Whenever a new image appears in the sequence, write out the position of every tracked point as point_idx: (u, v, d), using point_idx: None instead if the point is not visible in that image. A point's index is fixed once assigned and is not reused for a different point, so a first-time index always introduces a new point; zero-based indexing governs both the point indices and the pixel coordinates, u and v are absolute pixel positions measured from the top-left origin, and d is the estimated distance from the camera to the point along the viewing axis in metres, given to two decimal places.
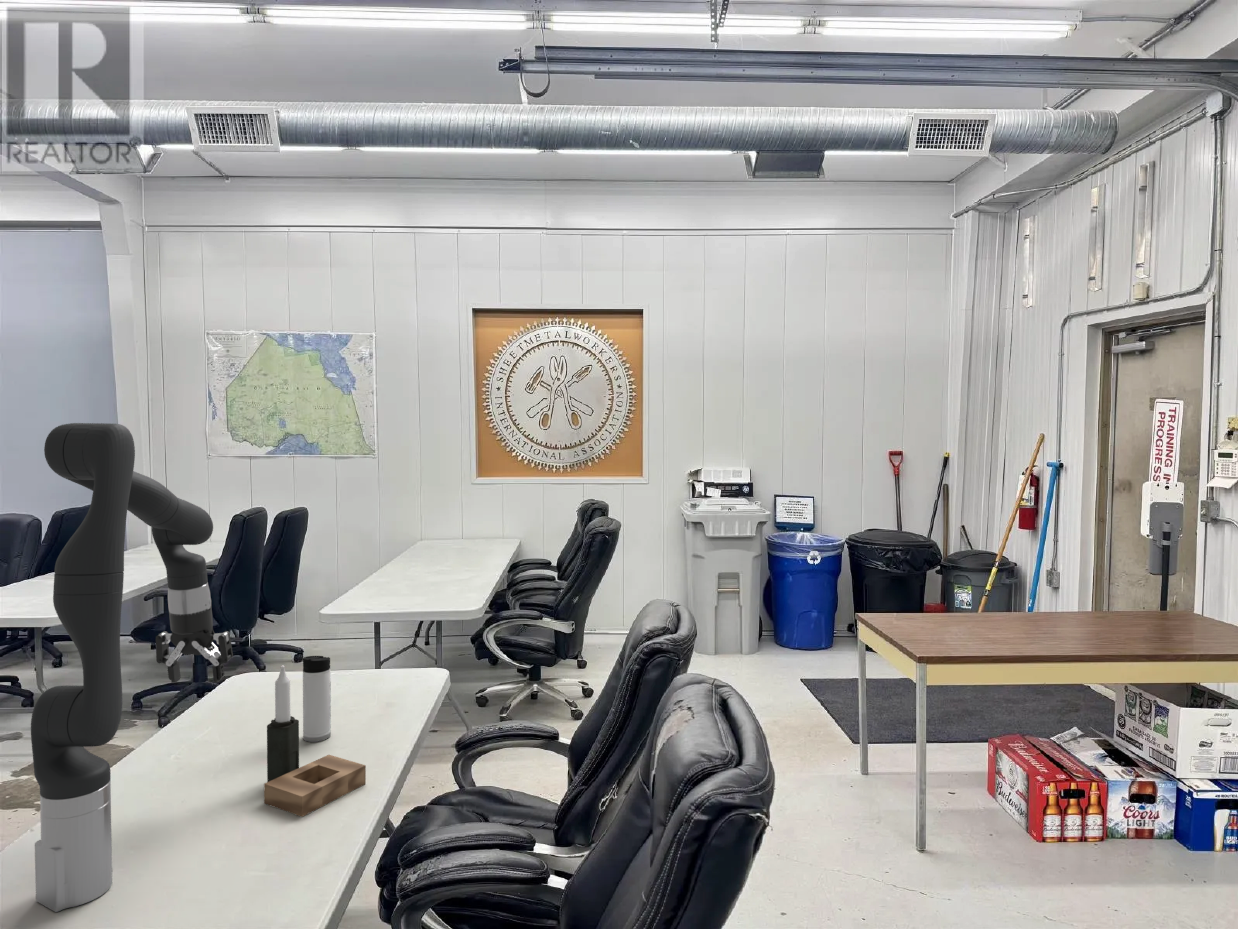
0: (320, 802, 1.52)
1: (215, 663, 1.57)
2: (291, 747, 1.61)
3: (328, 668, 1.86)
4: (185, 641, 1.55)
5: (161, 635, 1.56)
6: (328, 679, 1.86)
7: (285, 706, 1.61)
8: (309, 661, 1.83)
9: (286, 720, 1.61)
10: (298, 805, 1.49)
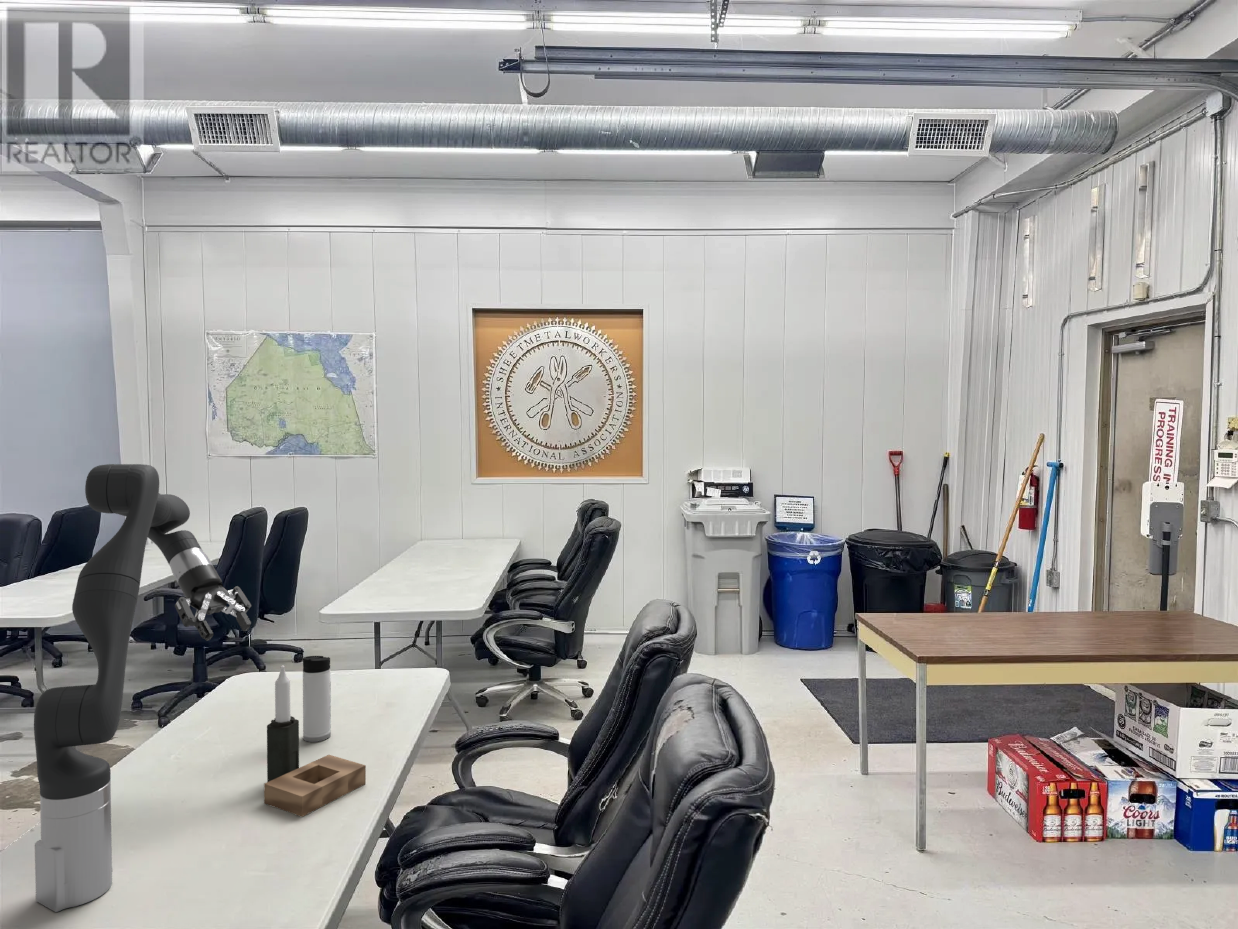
0: (320, 802, 1.52)
1: (242, 608, 1.68)
2: (291, 747, 1.61)
3: (328, 668, 1.86)
4: None
5: None
6: (328, 679, 1.86)
7: (285, 706, 1.61)
8: (309, 661, 1.83)
9: (286, 720, 1.61)
10: (298, 805, 1.49)
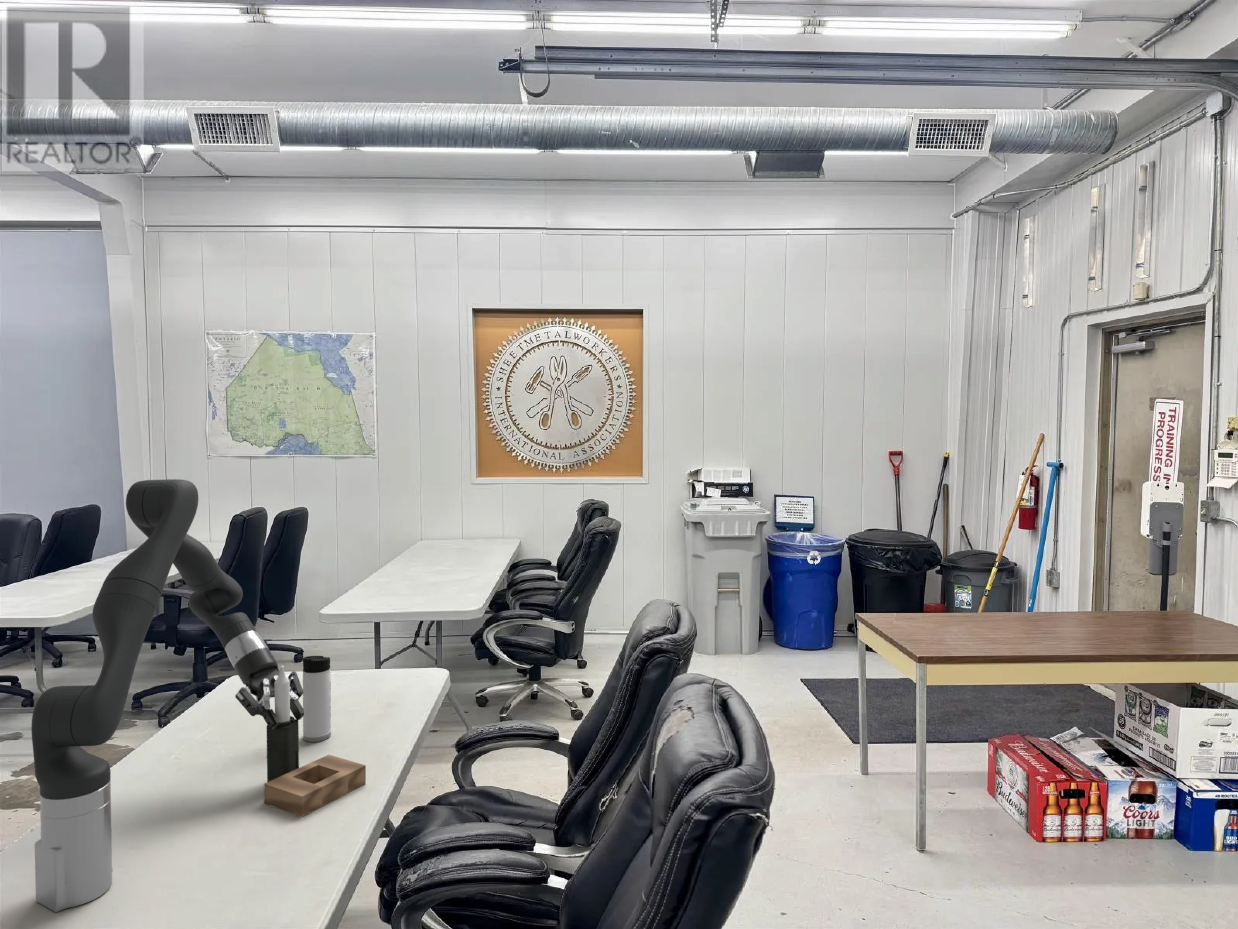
0: (320, 802, 1.52)
1: (295, 696, 1.65)
2: (290, 747, 1.61)
3: (328, 668, 1.86)
4: None
5: None
6: (328, 679, 1.86)
7: (284, 706, 1.61)
8: (309, 661, 1.83)
9: (286, 720, 1.61)
10: (298, 805, 1.49)
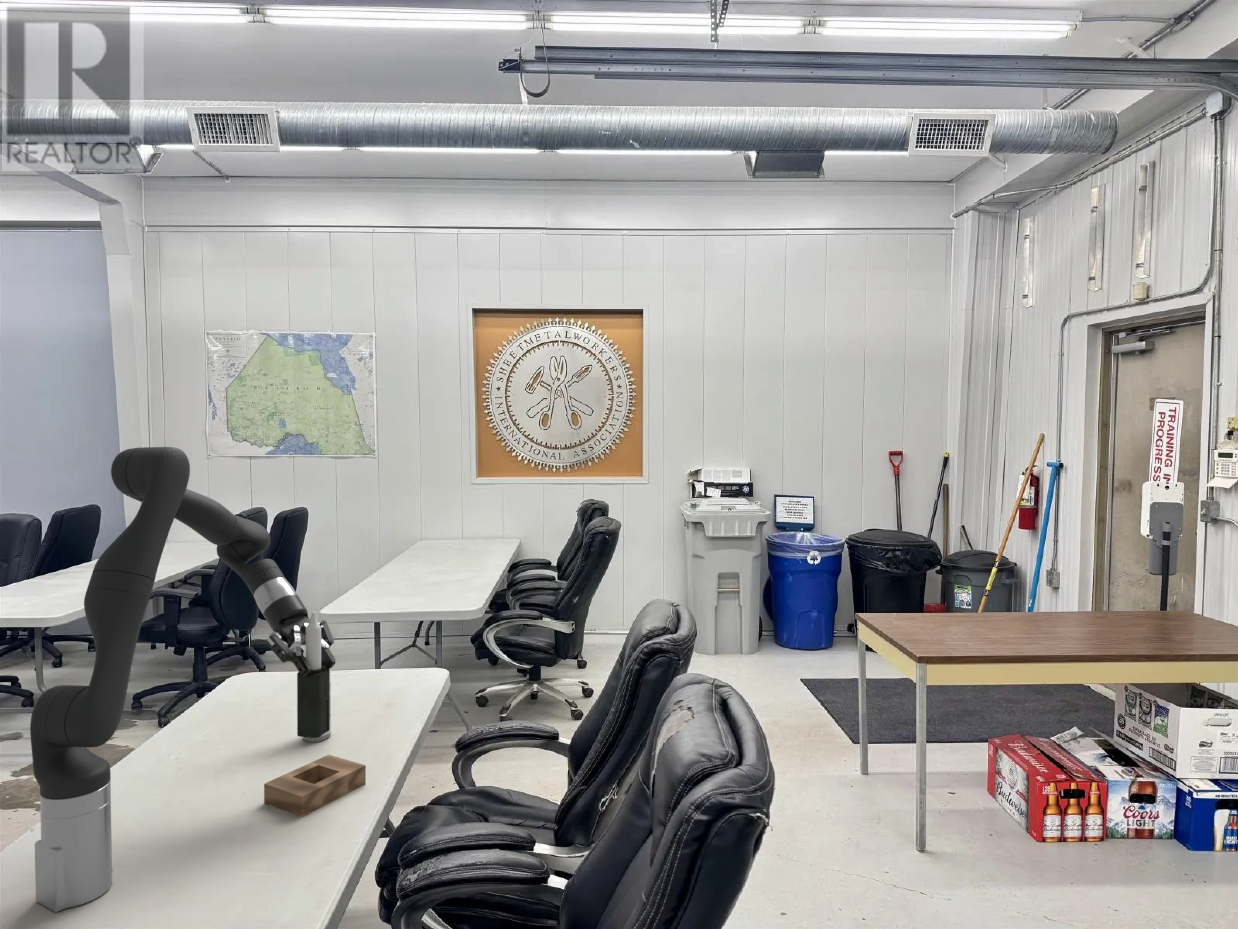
0: (320, 802, 1.52)
1: (326, 644, 1.60)
2: (322, 696, 1.56)
3: None
4: None
5: None
6: None
7: (316, 653, 1.56)
8: None
9: (317, 668, 1.56)
10: (298, 805, 1.49)
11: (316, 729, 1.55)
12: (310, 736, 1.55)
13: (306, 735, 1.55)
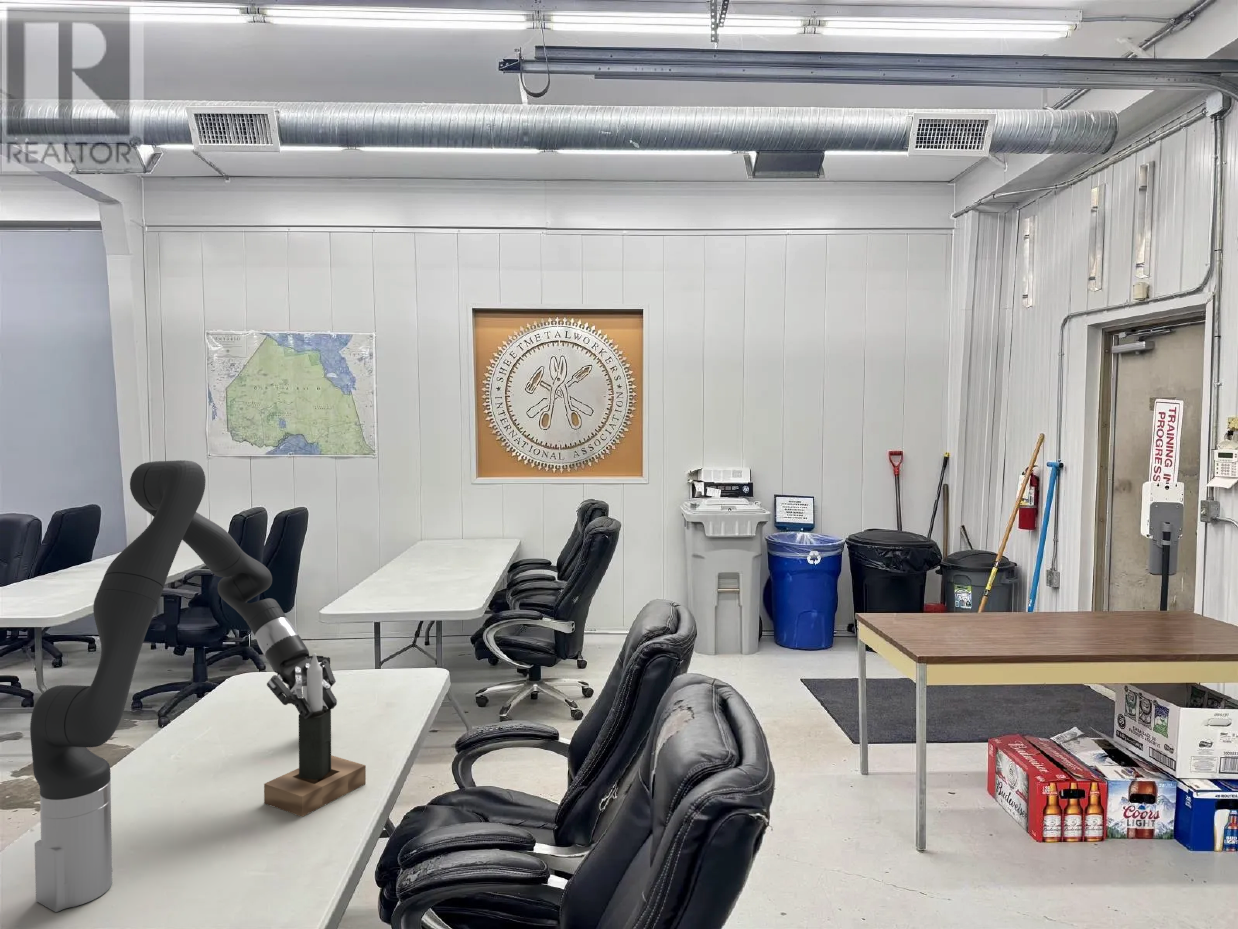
0: (320, 802, 1.52)
1: (327, 685, 1.60)
2: (323, 737, 1.56)
3: None
4: None
5: None
6: None
7: (317, 695, 1.56)
8: None
9: (318, 709, 1.56)
10: (298, 805, 1.49)
11: (318, 771, 1.55)
12: (312, 778, 1.55)
13: (308, 777, 1.55)
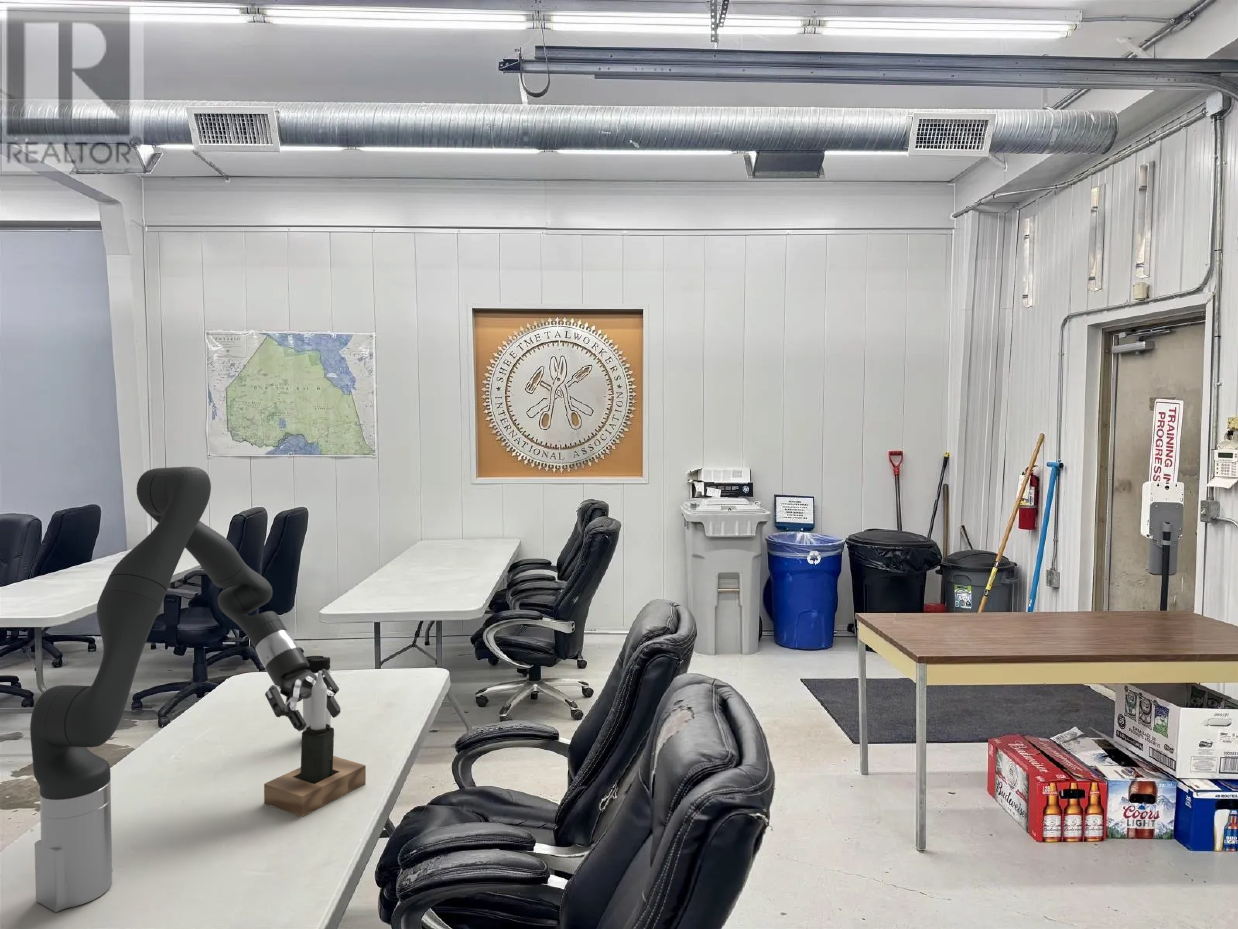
0: (320, 802, 1.52)
1: (331, 693, 1.62)
2: (325, 756, 1.56)
3: (328, 668, 1.86)
4: None
5: None
6: None
7: (321, 713, 1.57)
8: (309, 661, 1.83)
9: (321, 727, 1.57)
10: (298, 805, 1.49)
11: None
12: None
13: None
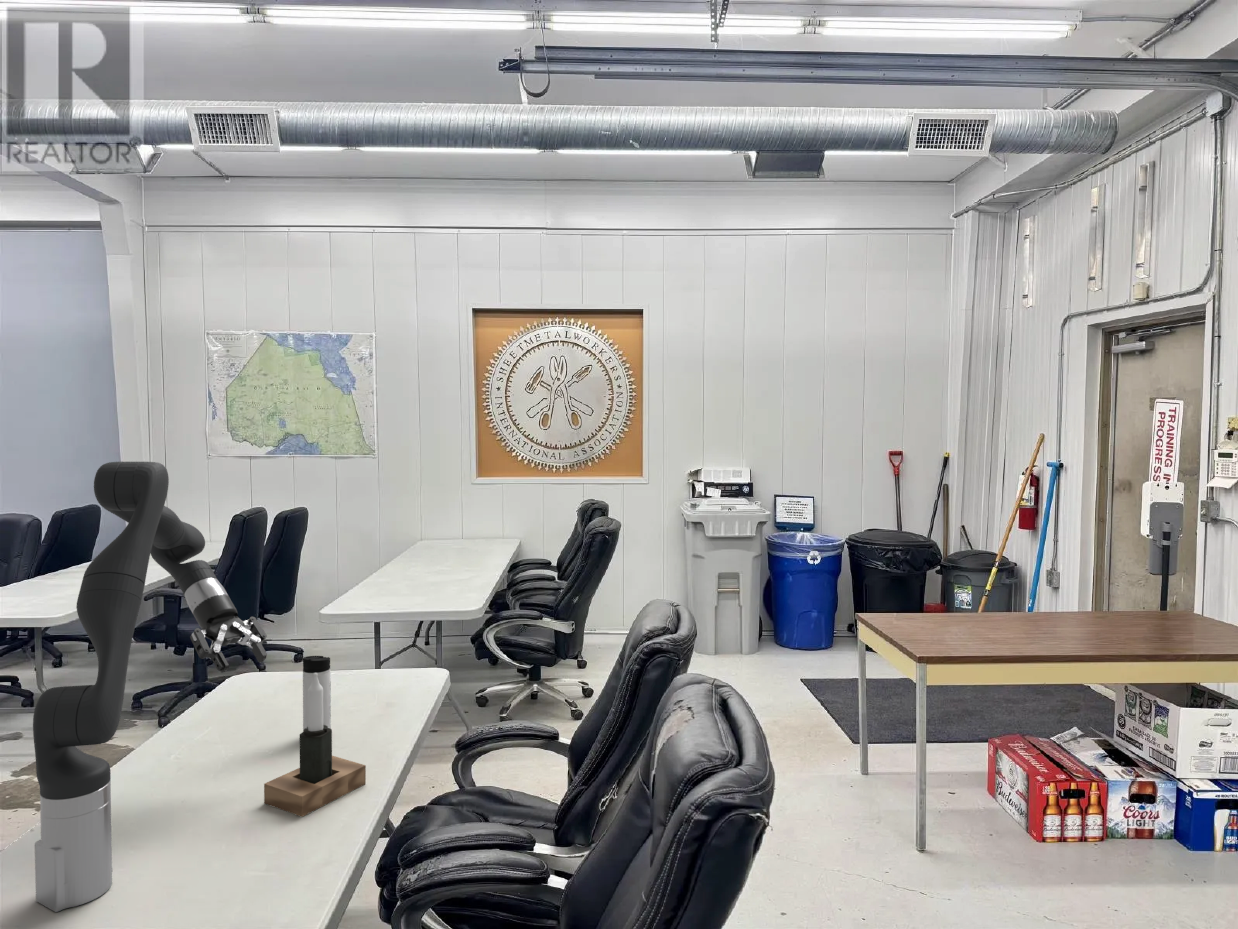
0: (320, 802, 1.52)
1: (258, 639, 1.66)
2: (324, 757, 1.56)
3: (328, 668, 1.86)
4: None
5: None
6: (328, 679, 1.86)
7: (318, 714, 1.56)
8: (309, 661, 1.83)
9: (319, 729, 1.56)
10: (298, 805, 1.49)
11: None
12: None
13: None
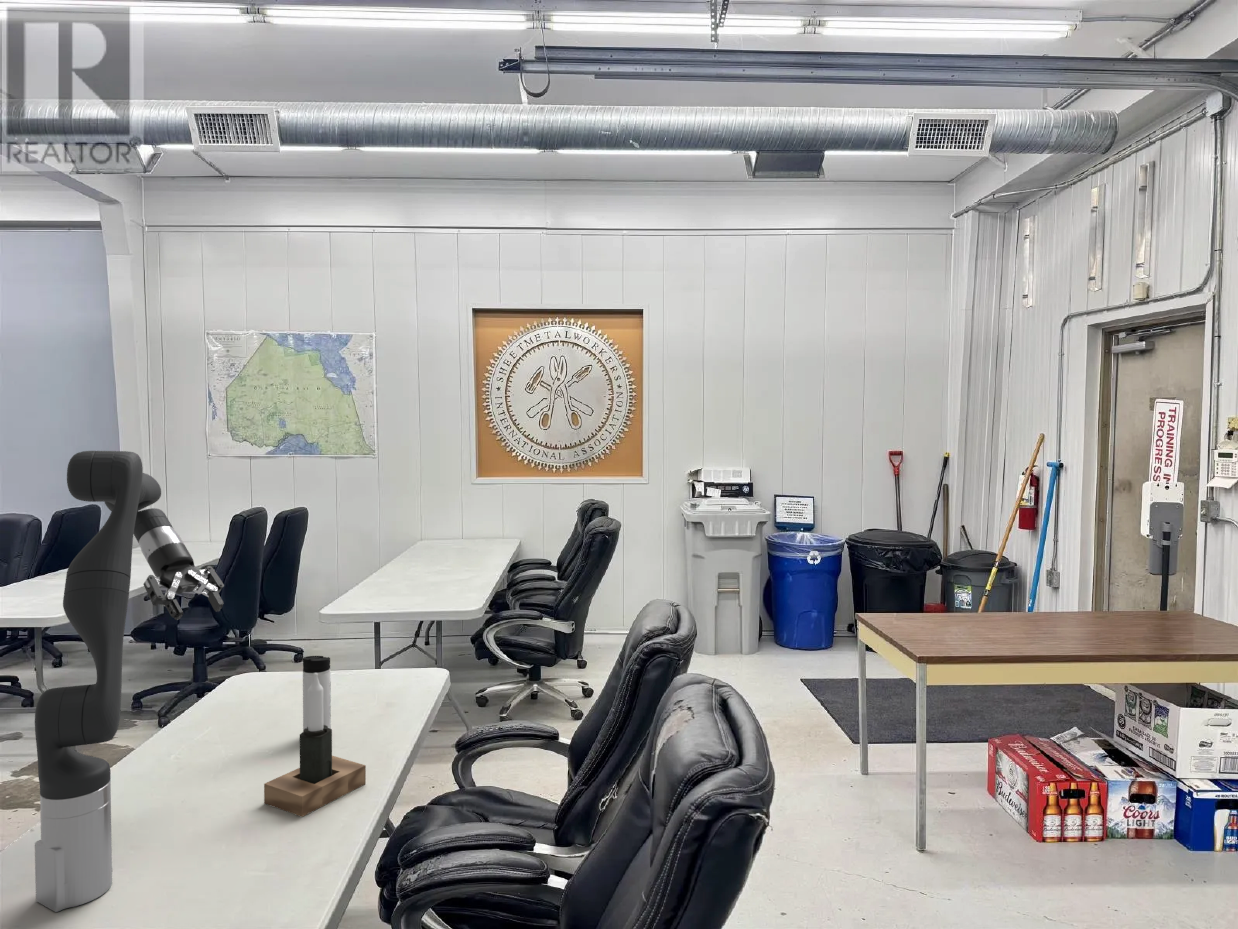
0: (320, 802, 1.52)
1: (214, 588, 1.63)
2: (324, 757, 1.56)
3: (328, 668, 1.86)
4: None
5: None
6: (328, 679, 1.86)
7: (318, 714, 1.56)
8: (309, 661, 1.83)
9: (319, 729, 1.56)
10: (298, 805, 1.49)
11: None
12: None
13: None
